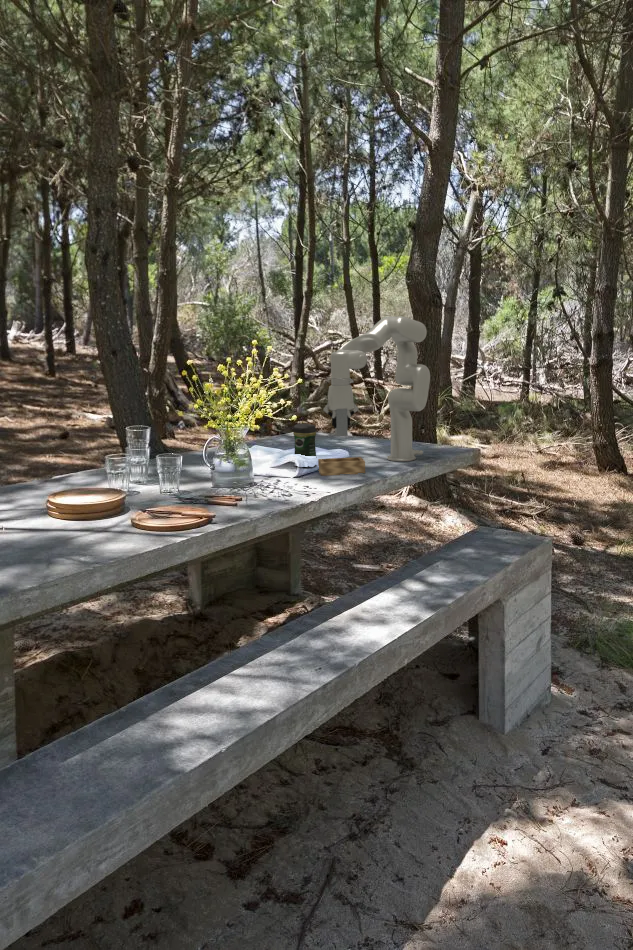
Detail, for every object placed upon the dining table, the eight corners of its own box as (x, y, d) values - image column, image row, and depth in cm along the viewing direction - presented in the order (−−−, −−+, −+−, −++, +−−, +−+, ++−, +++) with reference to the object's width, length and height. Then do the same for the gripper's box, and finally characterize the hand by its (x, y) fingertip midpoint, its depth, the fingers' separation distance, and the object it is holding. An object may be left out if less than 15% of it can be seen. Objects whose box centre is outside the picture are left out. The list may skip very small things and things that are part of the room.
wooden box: (360, 469, 341) (360, 457, 340) (365, 473, 331) (365, 461, 330) (318, 471, 338) (318, 458, 337) (321, 475, 329) (321, 462, 328)
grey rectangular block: (345, 434, 334) (345, 407, 332) (347, 435, 330) (347, 408, 328) (335, 434, 334) (334, 407, 332) (336, 436, 329) (336, 409, 327)
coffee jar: (320, 466, 350) (319, 423, 346) (307, 469, 344) (306, 425, 340) (303, 464, 356) (302, 421, 352) (291, 466, 350) (289, 424, 347)
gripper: (359, 381, 332) (359, 425, 336) (318, 382, 330) (319, 427, 334) (362, 382, 325) (363, 427, 329) (321, 383, 323) (321, 429, 327)
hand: (341, 426), depth 331 cm, fingers closed on grey rectangular block, 4 cm apart
